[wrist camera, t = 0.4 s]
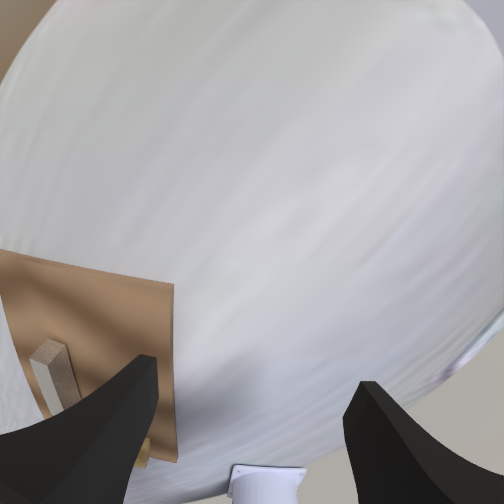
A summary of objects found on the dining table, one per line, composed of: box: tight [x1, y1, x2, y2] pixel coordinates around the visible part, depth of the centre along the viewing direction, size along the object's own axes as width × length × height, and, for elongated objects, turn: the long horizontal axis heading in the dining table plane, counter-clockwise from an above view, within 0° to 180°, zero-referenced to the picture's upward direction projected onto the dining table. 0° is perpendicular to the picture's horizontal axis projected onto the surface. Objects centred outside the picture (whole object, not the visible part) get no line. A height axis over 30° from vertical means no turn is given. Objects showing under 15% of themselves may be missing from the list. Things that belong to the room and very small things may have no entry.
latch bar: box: [29, 339, 81, 416], centre depth 19 cm, size 11×3×4 cm, turn 172°
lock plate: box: [0, 249, 178, 469], centre depth 20 cm, size 21×17×4 cm
